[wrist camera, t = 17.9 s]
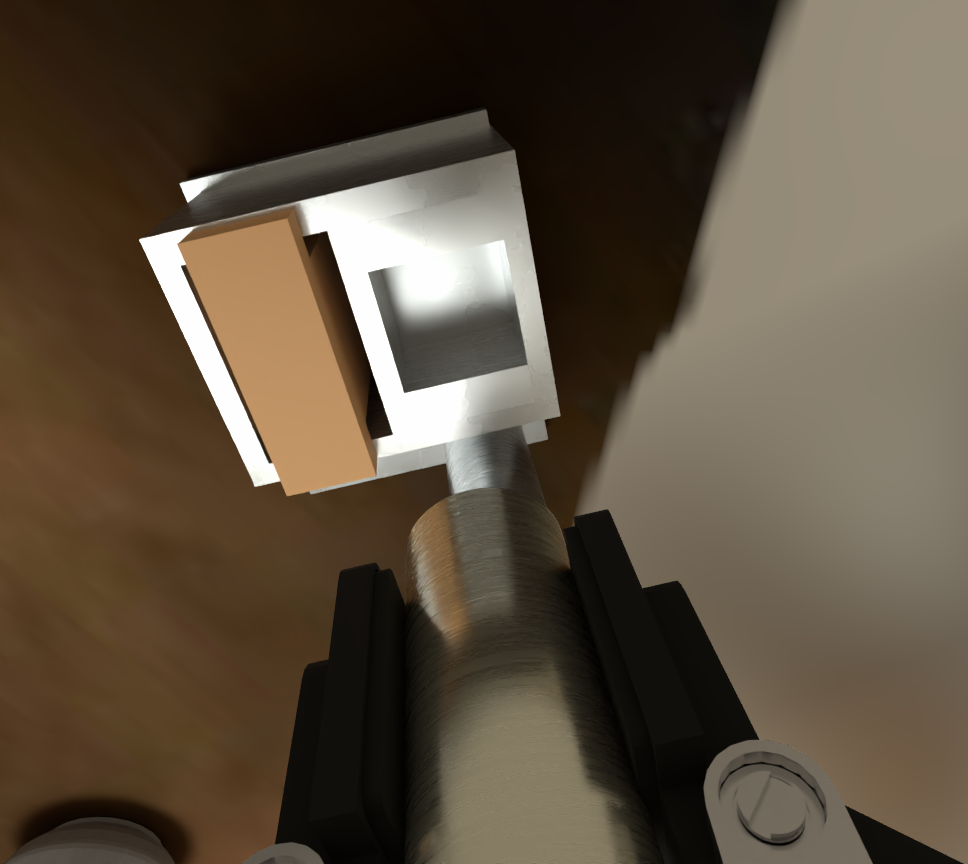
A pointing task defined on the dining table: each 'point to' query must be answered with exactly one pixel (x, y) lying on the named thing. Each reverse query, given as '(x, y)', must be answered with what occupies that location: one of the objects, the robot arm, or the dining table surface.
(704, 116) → the dining table surface
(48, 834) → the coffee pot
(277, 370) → the tan rectangular block
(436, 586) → the pale grey cylinder
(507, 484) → the pole on box base
